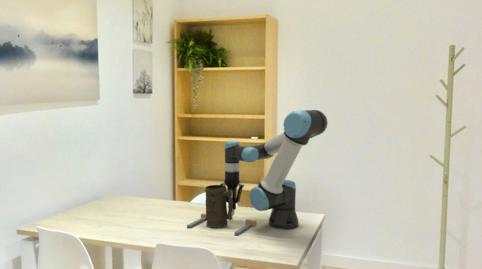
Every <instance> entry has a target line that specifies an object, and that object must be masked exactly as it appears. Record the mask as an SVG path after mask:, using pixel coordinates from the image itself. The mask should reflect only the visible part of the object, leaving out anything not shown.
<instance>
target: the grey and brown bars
mask: <svg viewBox="0 0 482 269" xmlns="http://www.w3.org/2000/svg"><path fill="white" fill-rule="evenodd" d="M204 222H207V219H206V212H205V213H204V212H202V213H201V214H200V218H199V219H196V220H194V221H193V222H191V223H189V224H187V225H186V228H187V229H188V230H190V229H193V228H195V227H197V226H199V225H200V224H202V223H204ZM255 227H257V220H256V219H249V218H247V219H245V225H244V226H242V227H241V228H239V229H238V230H236V231H235V232H234V236H236V237H239V236H241V235H242V234H244V233H245V232H247V231H248V230H250V229H252V228H255Z"/></svg>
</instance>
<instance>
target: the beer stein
mask: <svg viewBox="0 0 482 269" xmlns="http://www.w3.org/2000/svg"><path fill="white" fill-rule="evenodd" d="M204 190H205V213H206V219H207V220H206V226H207V227H208V228H216V229H217V228H218V229H219V228H223V227H226V226H227V225H228V223H229V222H228V220H229V221H232V220H233V216H231V213H232V209H233V198H232V196H231V191H228V190H227V192H225V187H224V186H223V185H220V184H211V185H207V186H205V189H204ZM225 196H228V199H229V209H227V208H228V207H227V206H228V205H227V202H226V197H225Z"/></svg>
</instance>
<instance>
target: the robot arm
mask: <svg viewBox="0 0 482 269" xmlns="http://www.w3.org/2000/svg"><path fill="white" fill-rule="evenodd" d="M282 126H283V132H282V133H280V134H278V135H276V136H274V137H273V138H271V139H269V140H267V141H265V142H263V143H261V144H256V145H248V146H247V145H246V146H244V145H240V141H239V140H228V141H225V143H224V171H225V172H224V180H223V182H221V183H220V184H219V185H223V186H224V187H225V192H227V191H231V196H232V198H233V209H232V213H231V216H232V217H234V216H235V210H236V209H237V203H240V202H241V201H240V200H241V198H242V196H241V195H242V193H243V189H244V187H245V184H242V183H241V181H240V161H241V162H245V163H246V162H247V163H255V162H257V161H258V160H268V159H270V158H273V157H274V156H275V154H276V156H275V158H274V159H273V161H272V163H271V166H270V167H269V170H268V171H267V173H266V176H265V177H261V179H260V181H259V182H258V184H257V186H254V187H253V188H251V189H250V190H249V196H248V197H249V200H250V204H251V206H252V207H253V208H254V209H255V210H256V211H259V212H263V211H268V210H271V212H270V216H269V218H268V226H269V227H271V228H274V229H278V230H279V229H280V230H291V229H295V228H298V227H299V218H298V215H297V211H296V194H297V193H296V191H297V188H296V187H297V186H296V182H295V181H293V180H289V179H287V177H288V174H289V172H290V171H291V168H292V167H293V165H294V162H295V161H296V159H297V157H298V155H299V154H300V151H301V149H302V147H304V146H307V145H308V143H309V141H310V139H313V138H315V137H317V136H319V135H321V134H323V133H324V132H325V131H326V130H327V127H328V118H327V116H326V115H325V113H323V112H322V111H320V110H318V109H311V110H309V109H308V110H307V109H306V110H305V109H304V110H302V109H298V110H295V111H291V112H289V113H288V114H287V115H286V117H285V118H284V120H283V125H282ZM237 188H238V190H237ZM225 197H226V203H227V204H228V205H227V206H228V207H227V208H228V209H227V210H229V199H228V196H225Z"/></svg>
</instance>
